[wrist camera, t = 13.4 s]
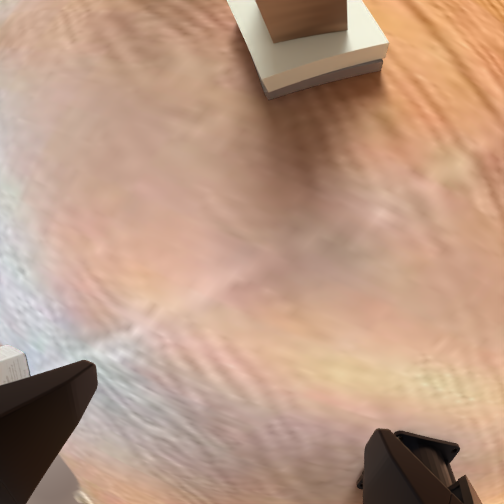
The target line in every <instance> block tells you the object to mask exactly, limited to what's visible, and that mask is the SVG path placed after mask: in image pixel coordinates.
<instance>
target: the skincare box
mask: <svg viewBox="0 0 504 504" xmlns="http://www.w3.org/2000/svg"><path fill="white" fill-rule="evenodd" d="M27 377H30V375H29V370H28V366H27V361H26V356H25V354H24V353H23V352H21V351H20V350H18V349H16V348H14V347H12V346H10V345H4V346H1V347H0V385H3V384H6V383H10V382H13V381H17V380H20V379H24V378H27Z"/></svg>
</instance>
